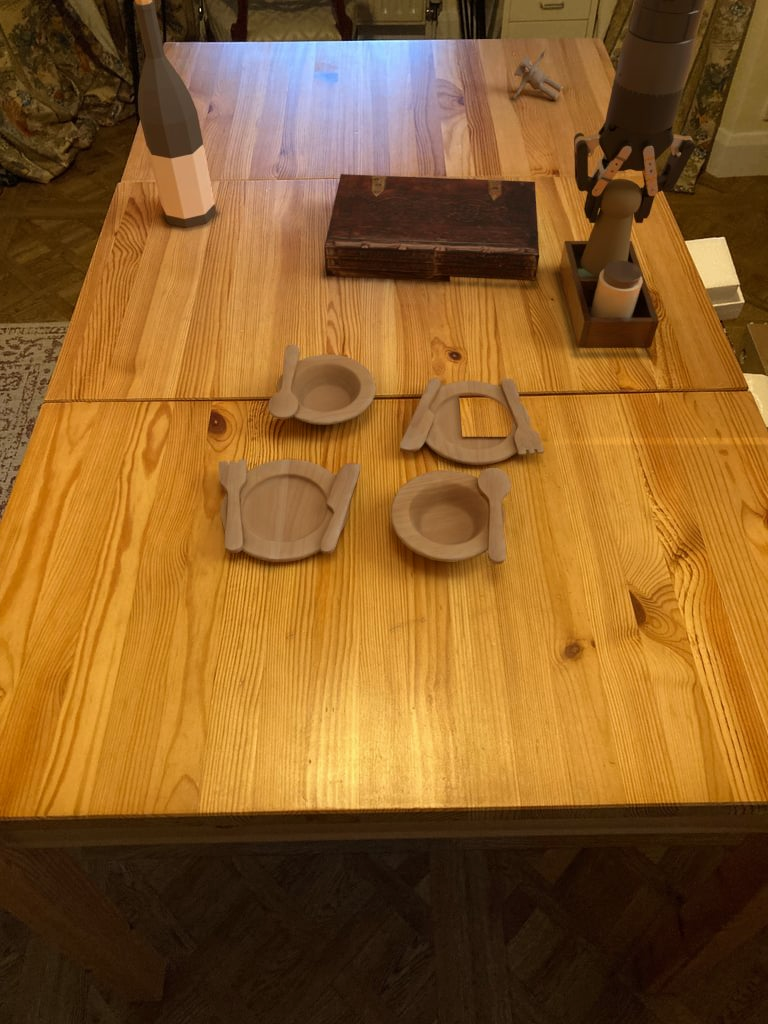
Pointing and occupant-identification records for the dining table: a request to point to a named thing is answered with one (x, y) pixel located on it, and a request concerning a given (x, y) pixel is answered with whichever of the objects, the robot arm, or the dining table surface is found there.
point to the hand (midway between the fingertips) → (614, 219)
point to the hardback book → (432, 228)
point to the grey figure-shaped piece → (535, 77)
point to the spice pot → (617, 291)
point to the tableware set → (325, 497)
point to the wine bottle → (171, 131)
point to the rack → (604, 329)
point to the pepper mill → (612, 226)
